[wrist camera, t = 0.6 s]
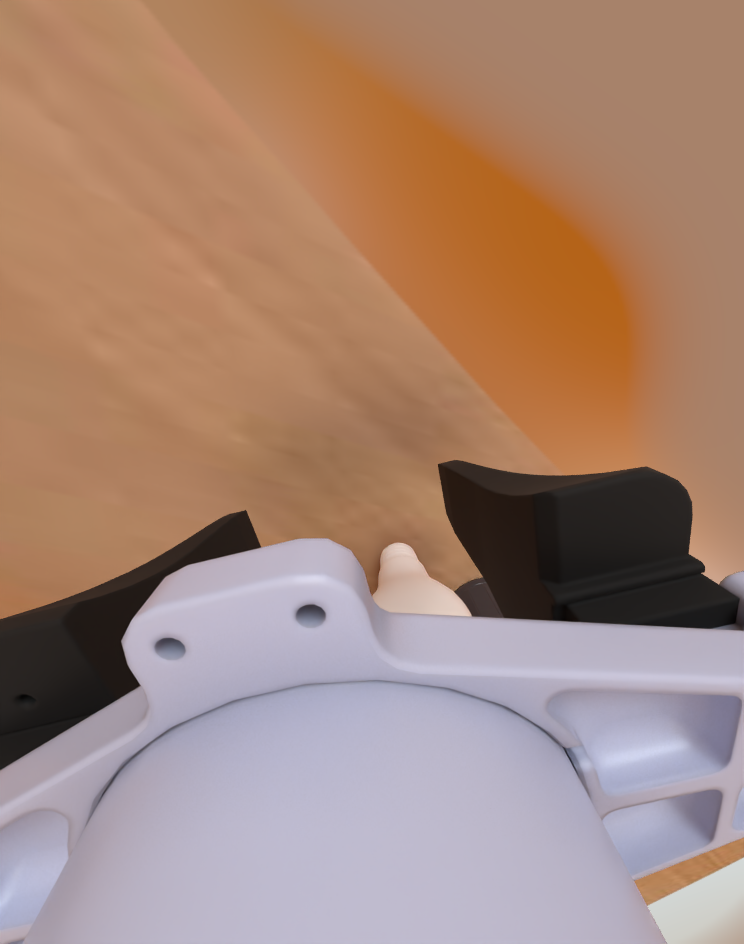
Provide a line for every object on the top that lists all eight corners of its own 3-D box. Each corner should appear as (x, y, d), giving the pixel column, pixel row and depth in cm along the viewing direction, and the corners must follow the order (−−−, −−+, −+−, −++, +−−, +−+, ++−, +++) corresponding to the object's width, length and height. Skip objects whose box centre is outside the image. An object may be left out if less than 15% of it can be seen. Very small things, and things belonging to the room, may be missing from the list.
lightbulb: (446, 519, 25) (517, 646, 14) (427, 590, 27) (477, 745, 16) (361, 508, 24) (371, 634, 14) (348, 582, 26) (348, 739, 16)
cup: (513, 635, 29) (541, 685, 25) (443, 638, 29) (459, 690, 24) (524, 575, 27) (557, 618, 23) (448, 578, 26) (467, 623, 22)
